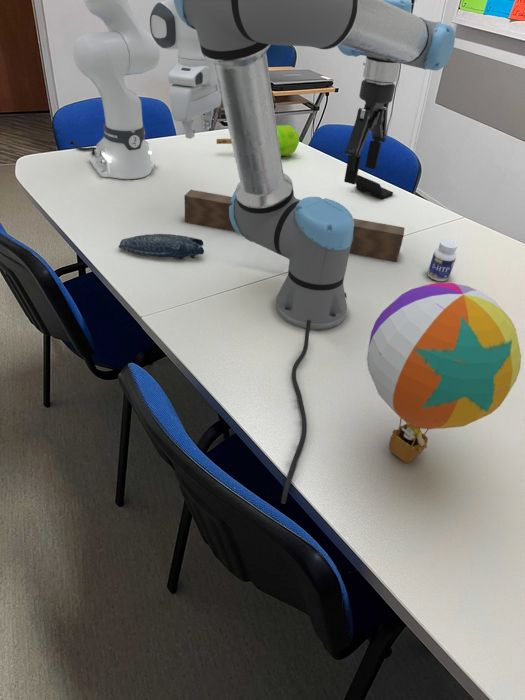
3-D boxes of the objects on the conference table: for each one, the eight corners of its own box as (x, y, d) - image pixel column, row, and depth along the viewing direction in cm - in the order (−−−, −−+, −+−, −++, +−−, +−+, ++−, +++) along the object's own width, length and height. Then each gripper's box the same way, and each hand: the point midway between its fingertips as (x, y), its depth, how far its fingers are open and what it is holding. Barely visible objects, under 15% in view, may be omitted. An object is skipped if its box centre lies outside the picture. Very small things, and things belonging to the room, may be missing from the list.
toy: (317, 443, 83) (351, 282, 64) (393, 393, 94) (441, 242, 75) (417, 530, 72) (494, 366, 53) (490, 462, 83) (575, 305, 64)
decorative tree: (213, 119, 187) (294, 118, 192) (214, 148, 193) (292, 147, 198) (219, 133, 173) (306, 132, 178) (220, 165, 179) (303, 163, 185)
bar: (397, 253, 137) (404, 227, 132) (396, 262, 133) (403, 235, 128) (190, 215, 146) (190, 189, 141) (184, 222, 142) (184, 195, 137)
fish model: (201, 265, 124) (201, 246, 121) (115, 255, 125) (113, 236, 122) (206, 252, 129) (206, 234, 126) (124, 243, 130) (122, 224, 127)
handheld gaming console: (396, 188, 169) (390, 167, 160) (387, 206, 167) (380, 186, 159) (365, 182, 175) (357, 162, 166) (355, 200, 174) (347, 180, 165)
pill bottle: (425, 278, 127) (436, 245, 122) (428, 268, 131) (438, 236, 126) (447, 283, 126) (459, 250, 120) (449, 273, 130) (460, 241, 124)
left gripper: (204, 63, 130) (205, 121, 138) (164, 76, 114) (167, 141, 123) (227, 66, 128) (227, 125, 137) (190, 79, 113) (191, 145, 121)
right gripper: (382, 70, 126) (365, 158, 139) (341, 86, 108) (325, 185, 122) (412, 76, 123) (391, 165, 136) (374, 93, 106) (355, 193, 119)
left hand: (198, 133), depth 130 cm, fingers open, 8 cm apart
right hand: (360, 175), depth 129 cm, fingers open, 13 cm apart
